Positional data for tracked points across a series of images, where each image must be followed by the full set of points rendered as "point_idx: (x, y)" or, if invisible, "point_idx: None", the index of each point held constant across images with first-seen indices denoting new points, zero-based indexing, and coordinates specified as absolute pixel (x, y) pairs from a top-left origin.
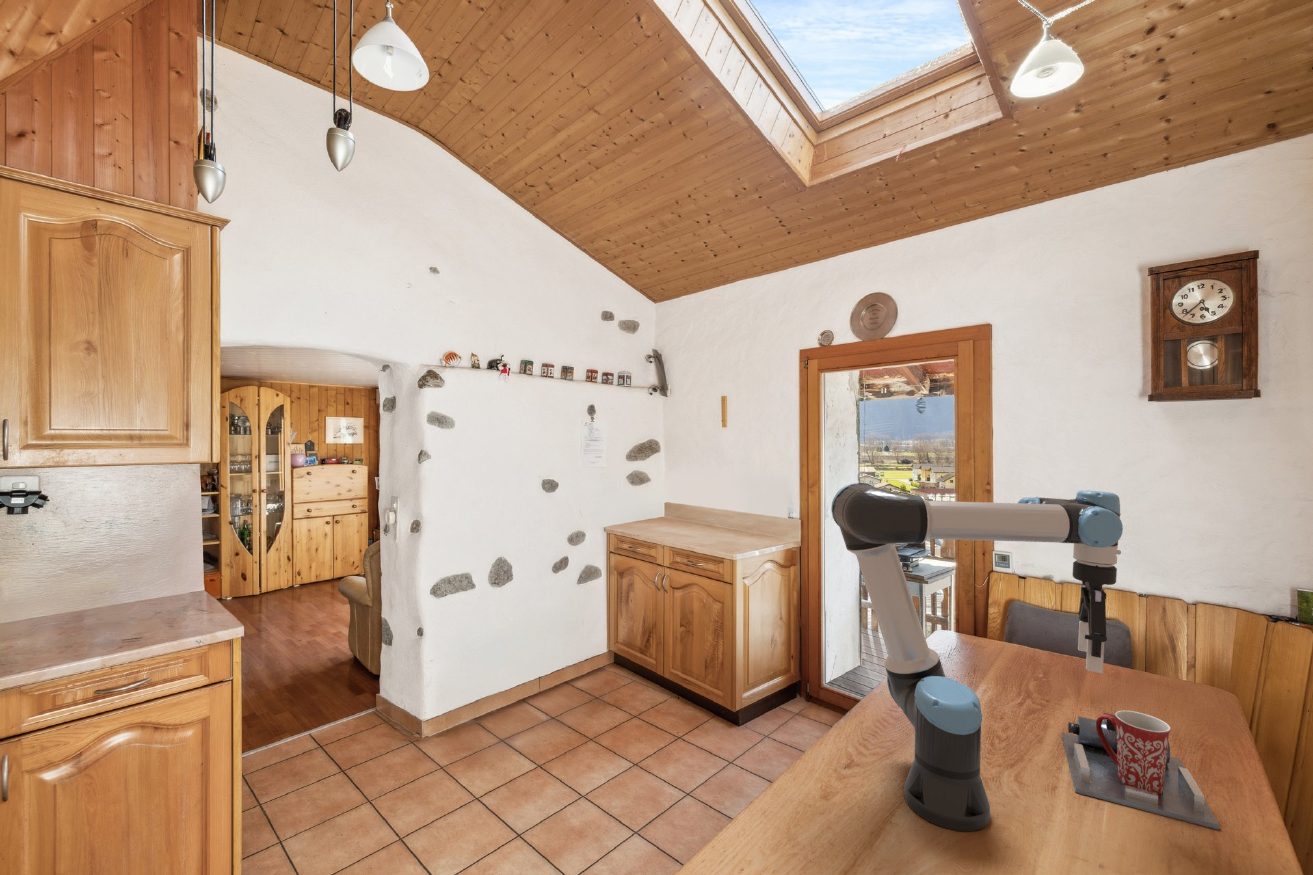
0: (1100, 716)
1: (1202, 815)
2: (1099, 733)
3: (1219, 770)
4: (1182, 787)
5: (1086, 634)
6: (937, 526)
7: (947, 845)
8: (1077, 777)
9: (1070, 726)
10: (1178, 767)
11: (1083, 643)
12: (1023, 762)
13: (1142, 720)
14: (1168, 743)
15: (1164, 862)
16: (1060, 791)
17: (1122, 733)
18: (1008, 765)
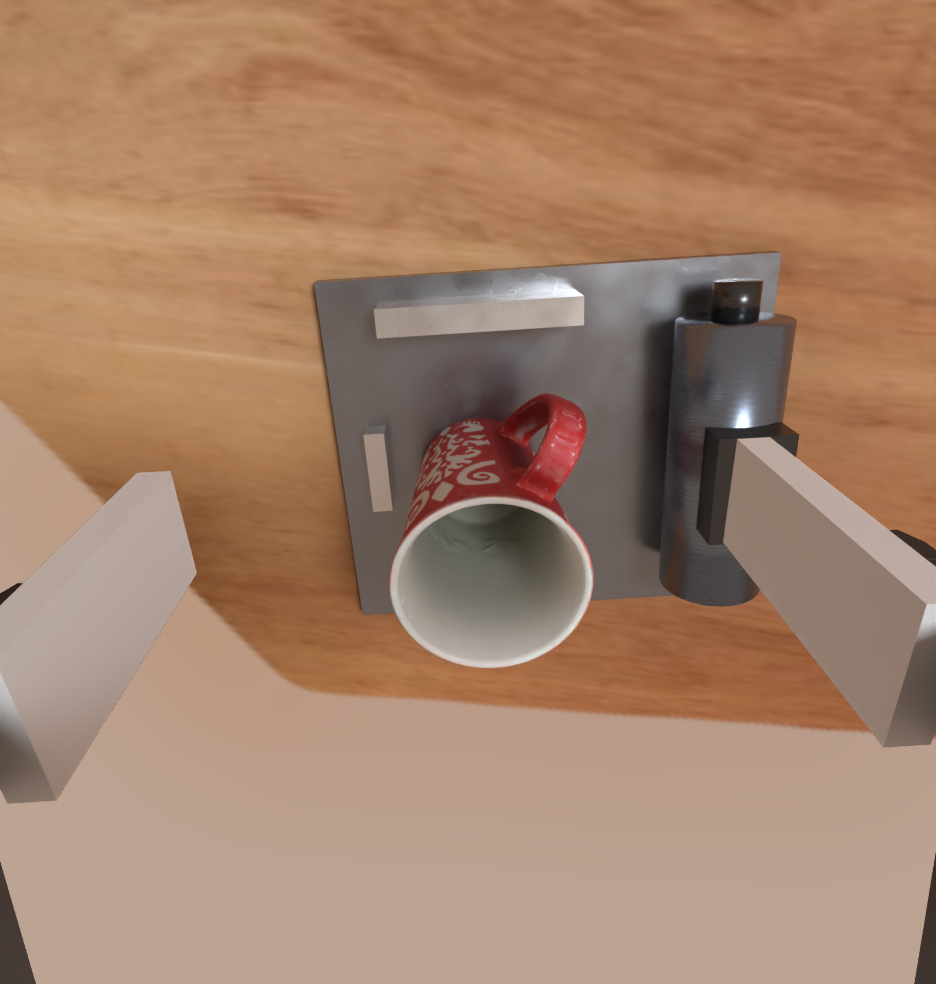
0: (554, 428)
1: (387, 589)
2: (539, 401)
3: (735, 662)
4: None
5: (815, 582)
6: None
7: None
8: (399, 292)
9: (725, 289)
10: None
11: (764, 507)
12: (436, 94)
13: (571, 581)
14: (685, 598)
15: (87, 473)
16: (288, 231)
17: (437, 493)
18: (367, 29)
